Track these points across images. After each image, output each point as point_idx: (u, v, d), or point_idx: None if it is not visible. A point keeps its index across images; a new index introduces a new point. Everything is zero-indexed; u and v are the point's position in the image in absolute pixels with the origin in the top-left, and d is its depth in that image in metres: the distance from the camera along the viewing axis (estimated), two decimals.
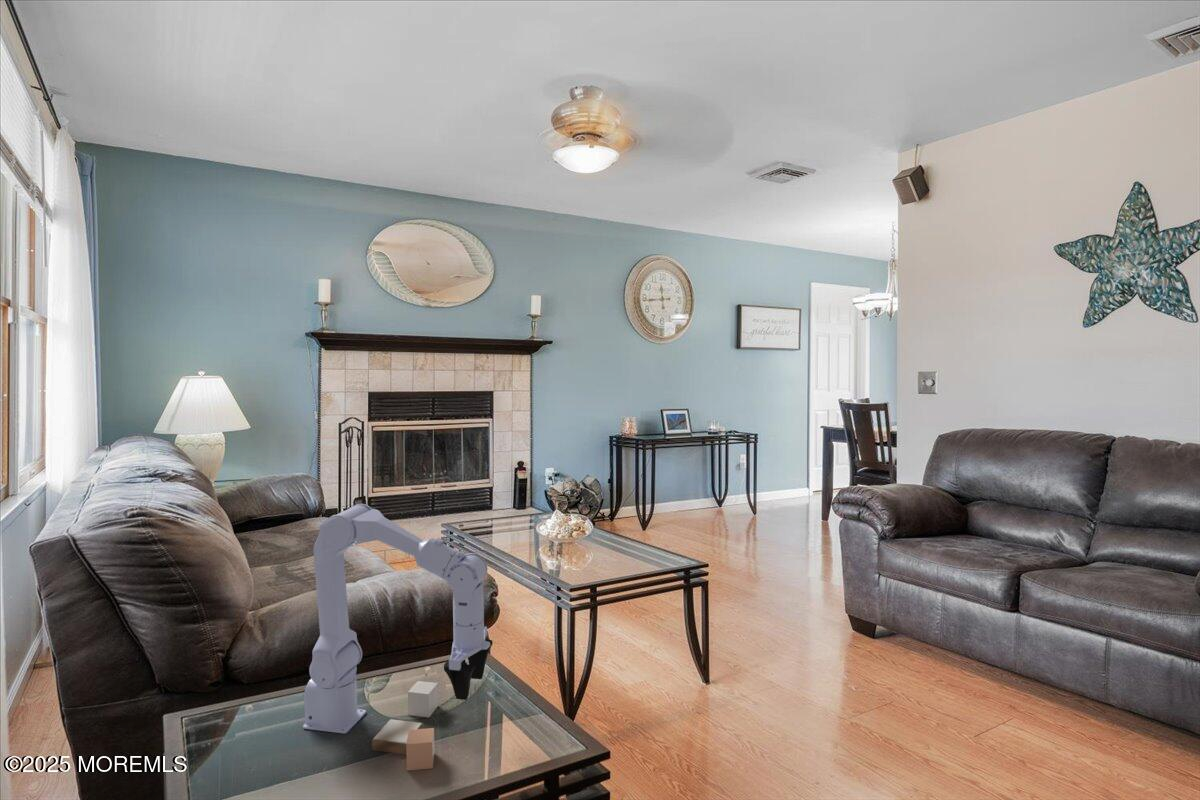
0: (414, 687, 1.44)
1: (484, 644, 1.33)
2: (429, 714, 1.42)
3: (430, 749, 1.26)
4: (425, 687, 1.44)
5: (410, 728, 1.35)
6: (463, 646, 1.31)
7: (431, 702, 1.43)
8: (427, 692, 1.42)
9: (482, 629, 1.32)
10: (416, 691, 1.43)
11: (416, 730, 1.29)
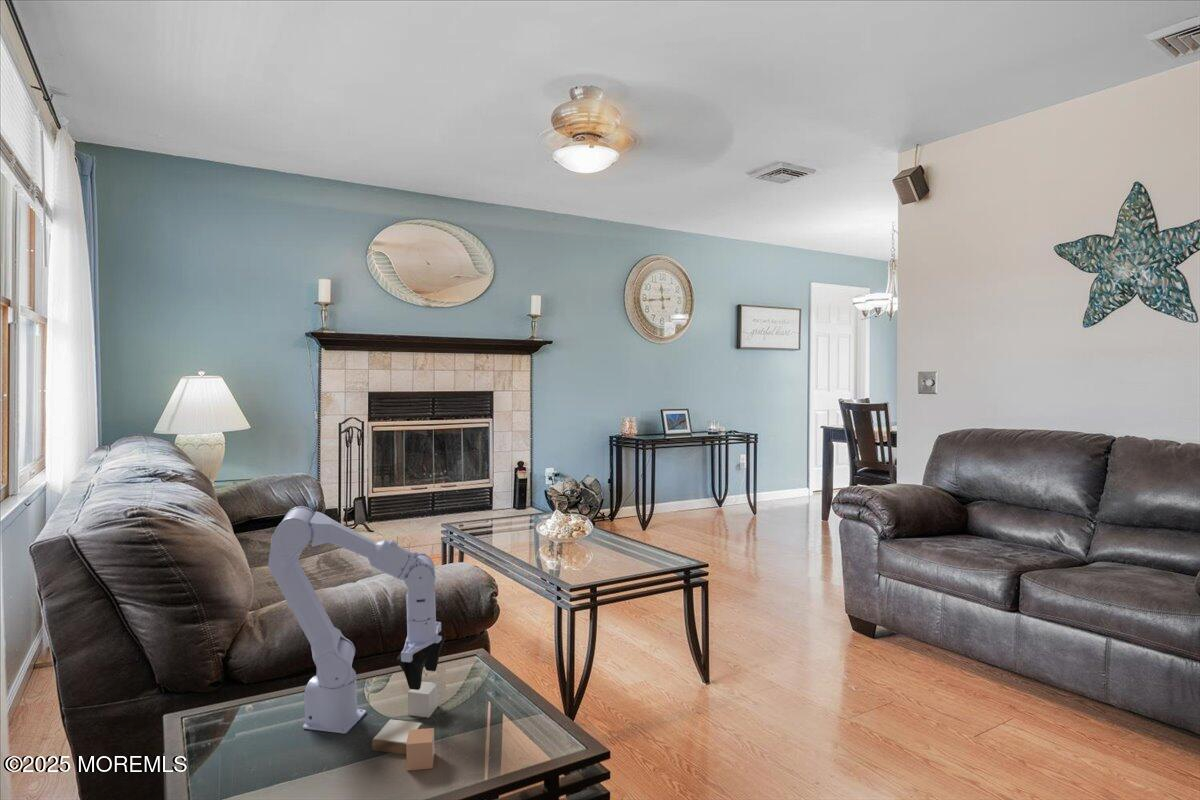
0: None
1: (436, 638, 1.42)
2: (429, 714, 1.42)
3: (430, 749, 1.26)
4: (425, 687, 1.44)
5: (410, 728, 1.35)
6: (415, 640, 1.40)
7: (431, 702, 1.43)
8: (427, 692, 1.42)
9: (434, 624, 1.42)
10: (416, 691, 1.43)
11: (415, 730, 1.29)
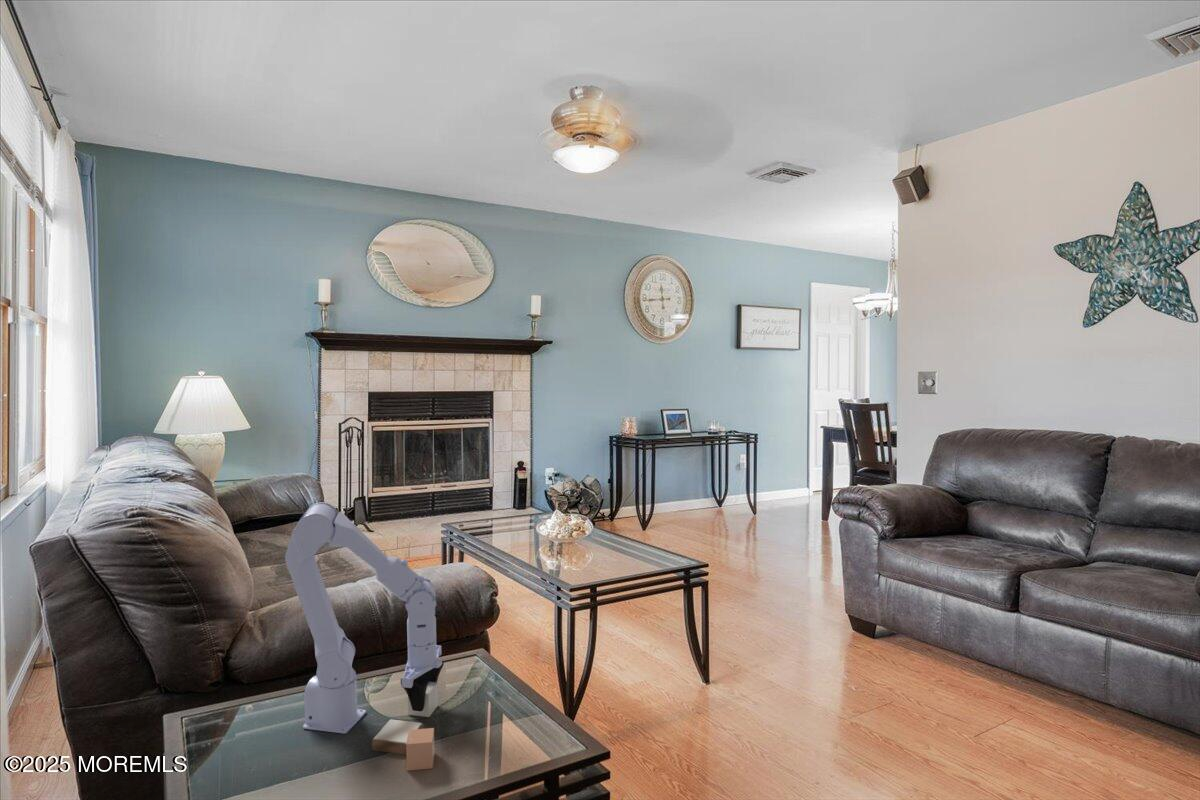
0: None
1: (436, 663, 1.43)
2: (429, 714, 1.42)
3: (430, 749, 1.26)
4: None
5: (410, 728, 1.35)
6: (416, 665, 1.41)
7: (431, 701, 1.43)
8: (427, 692, 1.42)
9: (434, 649, 1.43)
10: None
11: (415, 730, 1.29)
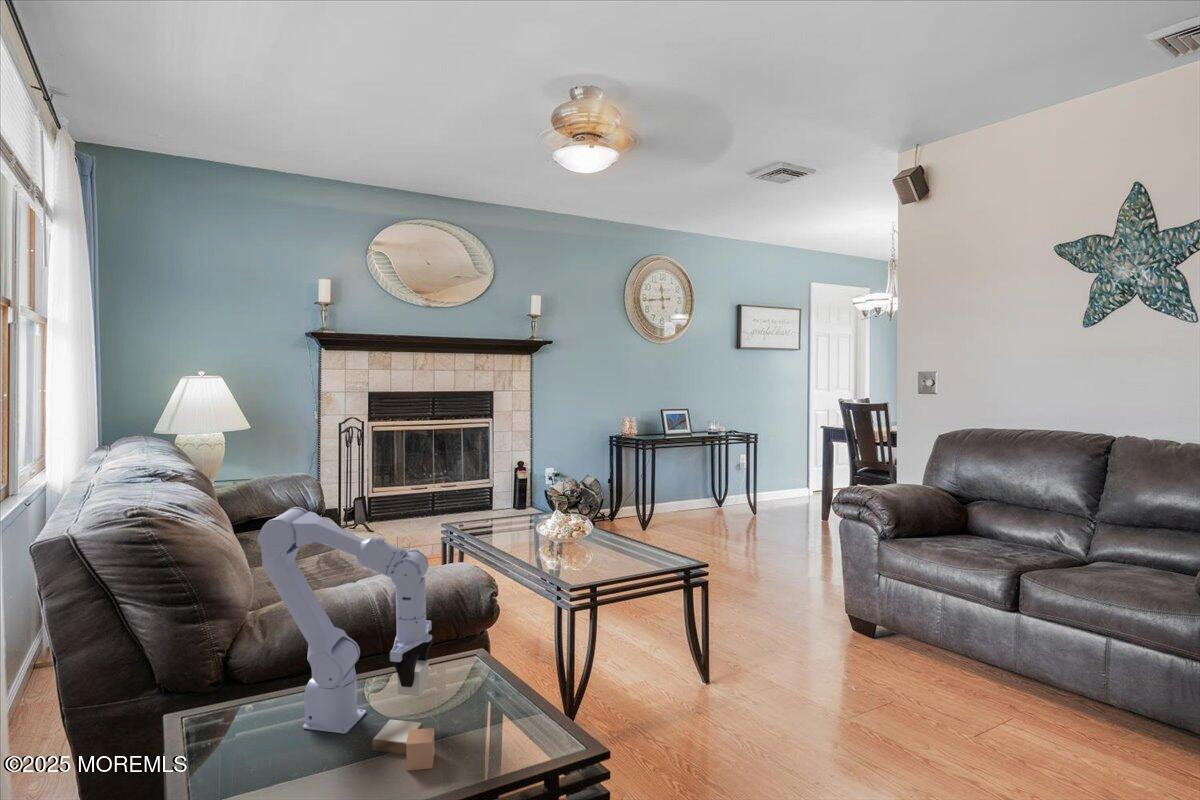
0: None
1: (426, 637, 1.38)
2: (420, 693, 1.37)
3: (430, 749, 1.26)
4: (416, 665, 1.39)
5: (410, 728, 1.35)
6: (405, 639, 1.36)
7: (421, 680, 1.38)
8: (417, 670, 1.37)
9: (424, 623, 1.38)
10: None
11: (416, 730, 1.29)
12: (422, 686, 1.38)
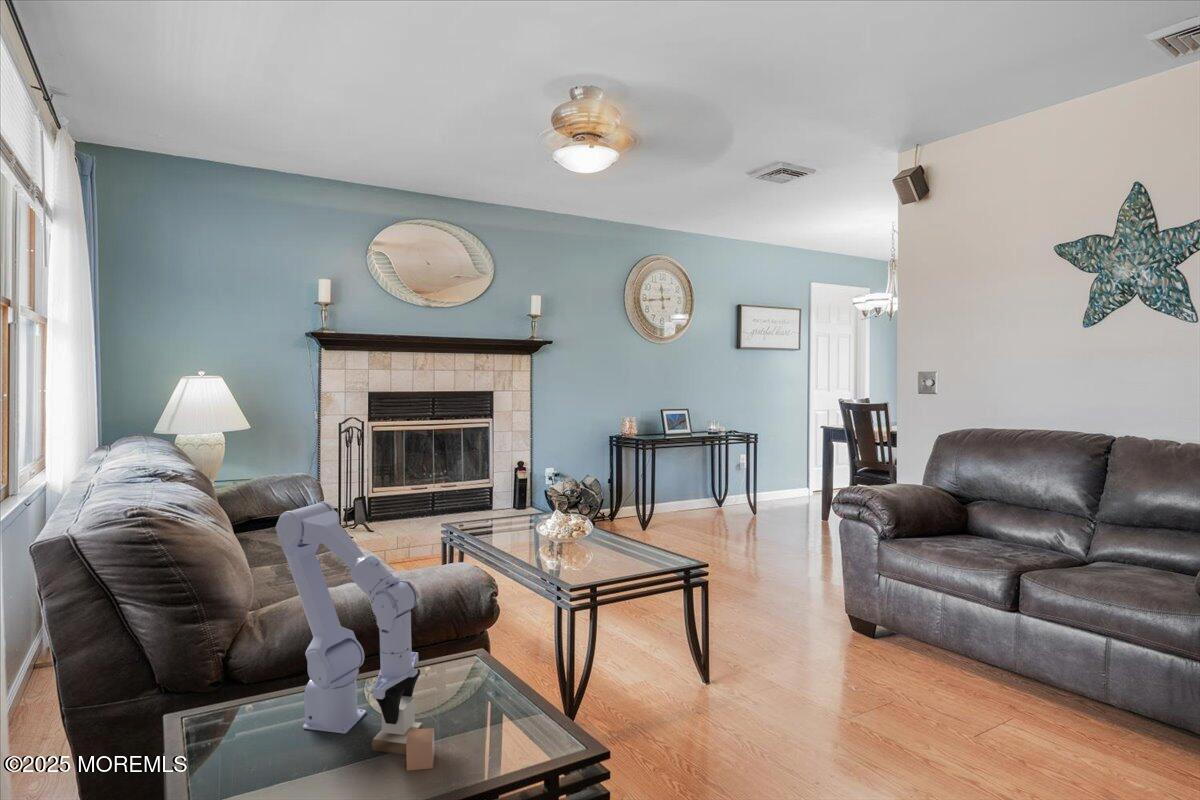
0: None
1: (411, 671, 1.32)
2: (404, 731, 1.31)
3: (430, 749, 1.26)
4: (401, 702, 1.33)
5: (410, 728, 1.35)
6: (389, 674, 1.30)
7: (406, 718, 1.32)
8: (402, 708, 1.31)
9: (409, 656, 1.32)
10: None
11: (415, 730, 1.29)
12: (407, 724, 1.32)
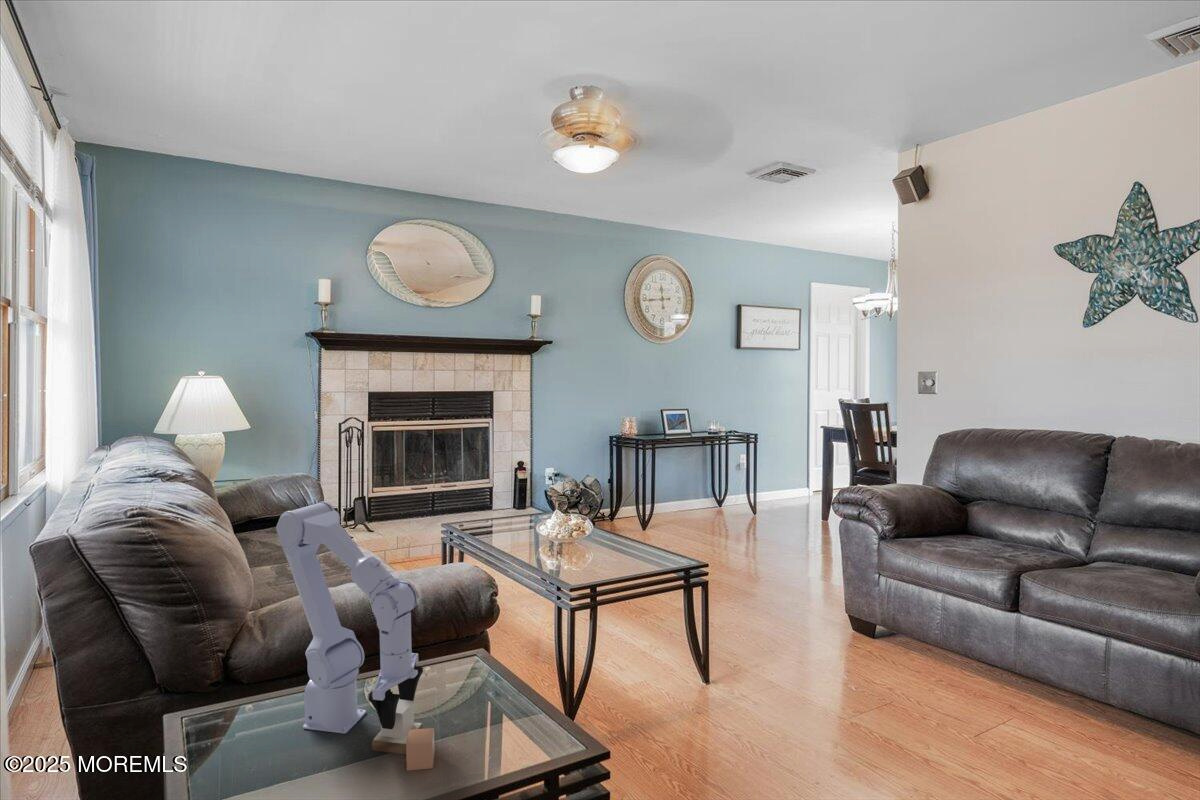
0: None
1: (411, 673, 1.32)
2: (403, 735, 1.32)
3: (430, 749, 1.26)
4: (400, 706, 1.33)
5: None
6: (389, 675, 1.30)
7: (405, 722, 1.32)
8: (401, 712, 1.31)
9: (409, 657, 1.32)
10: None
11: (415, 730, 1.29)
12: (406, 728, 1.33)
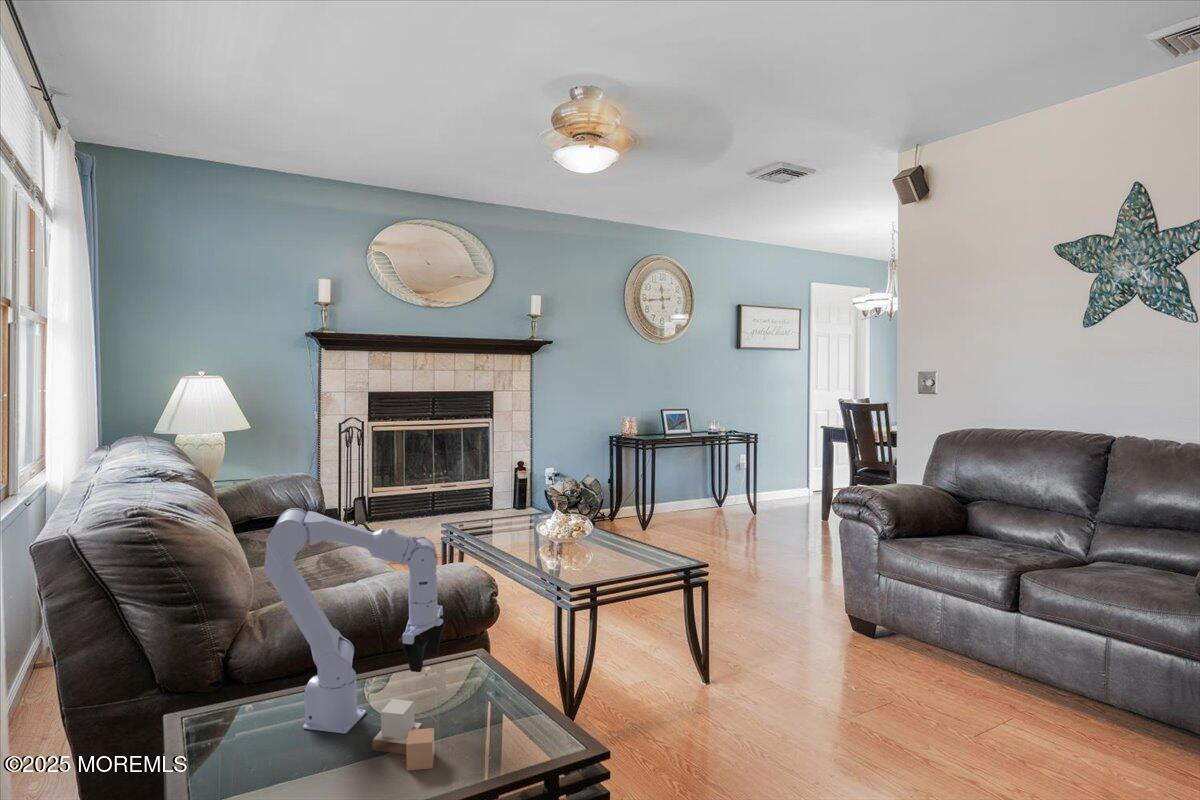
0: (388, 706, 1.33)
1: (437, 621, 1.43)
2: (404, 736, 1.31)
3: (430, 749, 1.26)
4: (400, 706, 1.33)
5: None
6: (417, 622, 1.41)
7: (406, 722, 1.32)
8: (401, 712, 1.31)
9: (435, 607, 1.43)
10: (390, 711, 1.31)
11: (416, 730, 1.29)
12: (407, 728, 1.32)
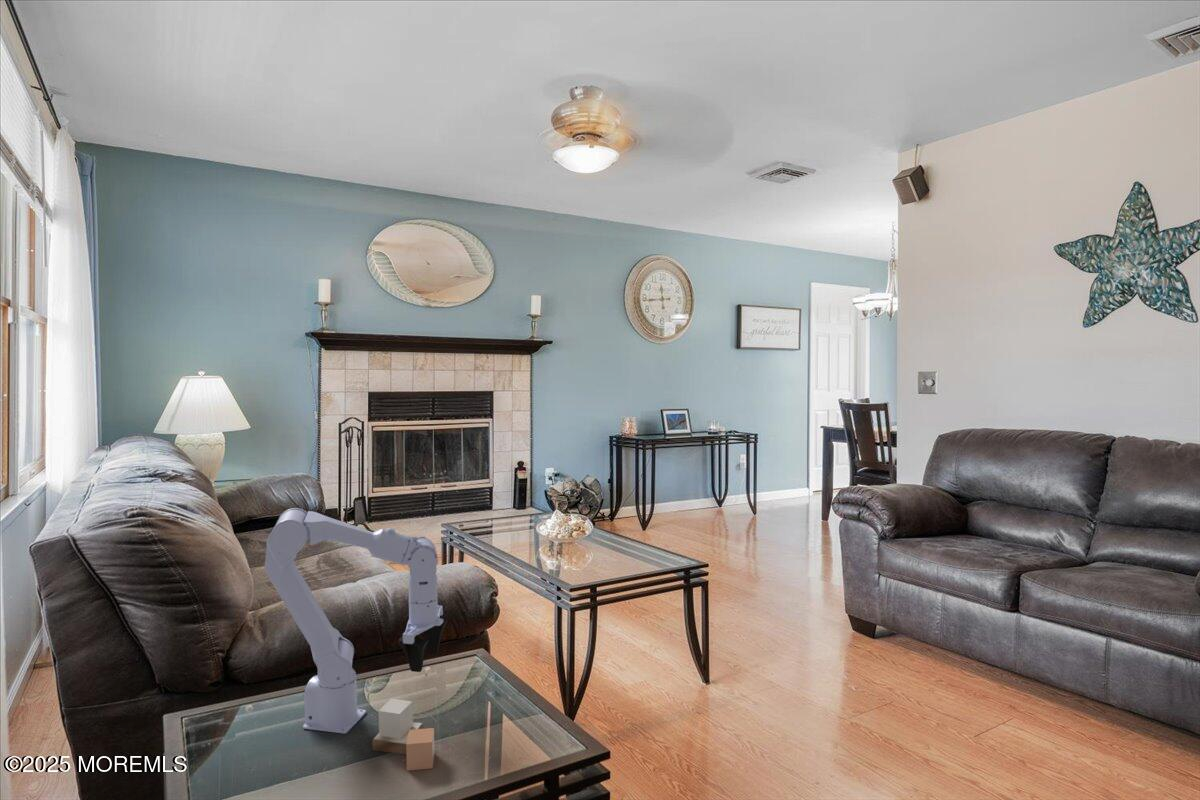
0: (386, 705, 1.33)
1: (437, 621, 1.43)
2: (401, 736, 1.31)
3: (430, 749, 1.26)
4: (398, 706, 1.33)
5: None
6: (417, 622, 1.41)
7: (403, 722, 1.32)
8: (398, 712, 1.31)
9: (435, 607, 1.43)
10: (387, 710, 1.32)
11: (415, 730, 1.29)
12: (404, 728, 1.32)
